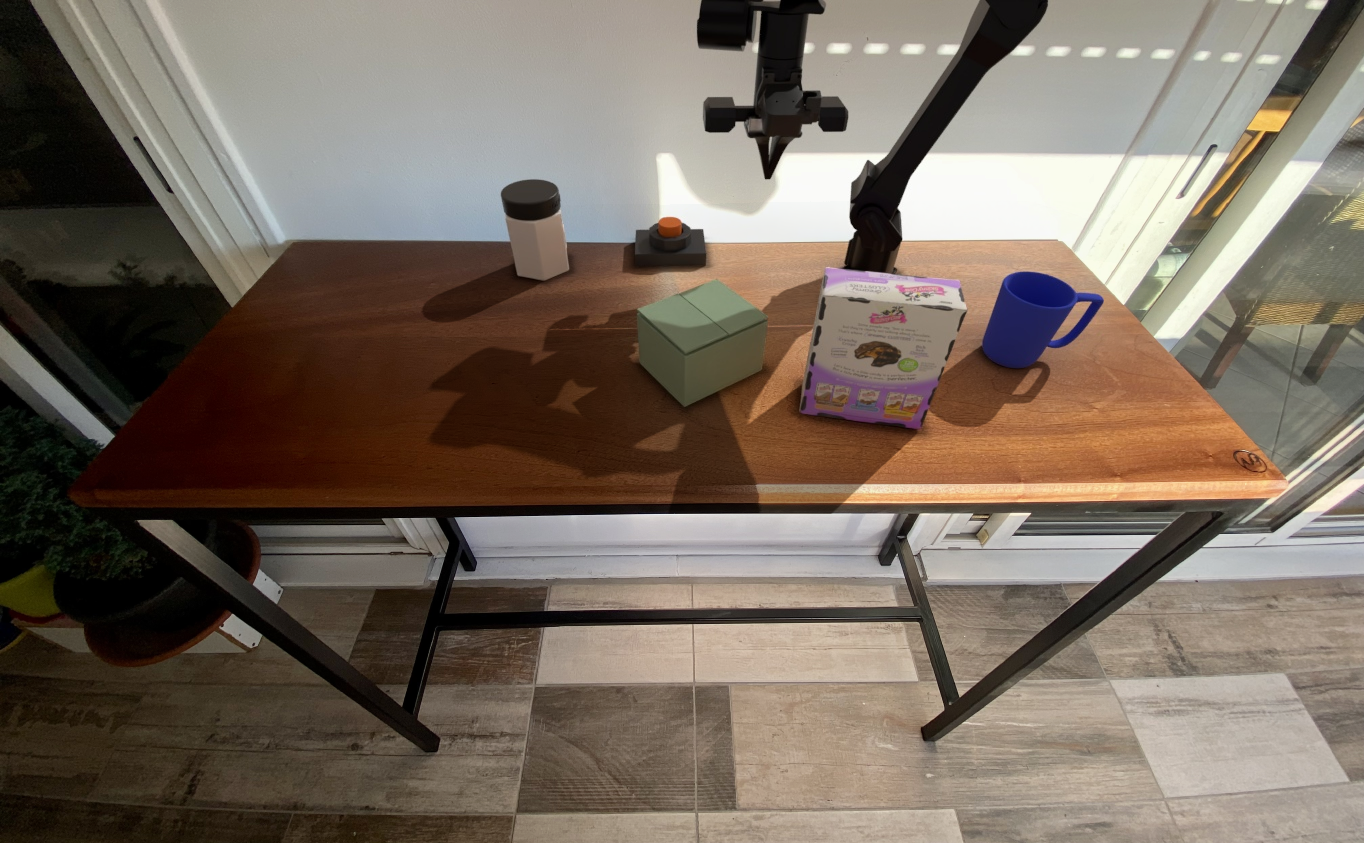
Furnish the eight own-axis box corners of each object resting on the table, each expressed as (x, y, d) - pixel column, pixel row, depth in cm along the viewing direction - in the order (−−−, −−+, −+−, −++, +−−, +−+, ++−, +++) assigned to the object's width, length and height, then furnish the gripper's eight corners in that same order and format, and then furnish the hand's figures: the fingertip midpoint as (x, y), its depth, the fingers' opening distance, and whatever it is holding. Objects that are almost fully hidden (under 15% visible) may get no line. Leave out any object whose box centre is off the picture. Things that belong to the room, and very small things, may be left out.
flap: (716, 280, 75) (716, 278, 75) (768, 318, 70) (768, 316, 69) (678, 295, 73) (678, 293, 73) (728, 335, 67) (728, 333, 67)
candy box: (916, 398, 72) (963, 277, 60) (920, 432, 68) (970, 310, 56) (801, 382, 74) (824, 262, 62) (798, 414, 69) (822, 293, 58)
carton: (714, 331, 81) (717, 278, 75) (762, 370, 75) (769, 316, 69) (639, 363, 76) (636, 309, 70) (684, 407, 70) (685, 352, 64)
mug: (1082, 377, 75) (1125, 309, 68) (986, 375, 75) (1018, 308, 68) (1055, 337, 80) (1091, 271, 73) (965, 335, 81) (993, 270, 73)
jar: (572, 278, 90) (561, 201, 82) (517, 284, 89) (500, 207, 80) (567, 249, 96) (556, 175, 88) (515, 254, 95) (500, 180, 87)
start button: (681, 227, 94) (681, 216, 93) (681, 238, 92) (682, 227, 91) (658, 227, 94) (658, 216, 93) (658, 238, 92) (658, 227, 91)
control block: (702, 241, 99) (703, 218, 96) (705, 266, 93) (706, 242, 90) (636, 241, 98) (635, 219, 96) (635, 267, 93) (634, 243, 90)
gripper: (710, 72, 68) (705, 204, 79) (871, 72, 69) (844, 202, 80) (704, 47, 76) (701, 170, 87) (848, 47, 77) (827, 169, 88)
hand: (767, 178), depth 85 cm, fingers closed
